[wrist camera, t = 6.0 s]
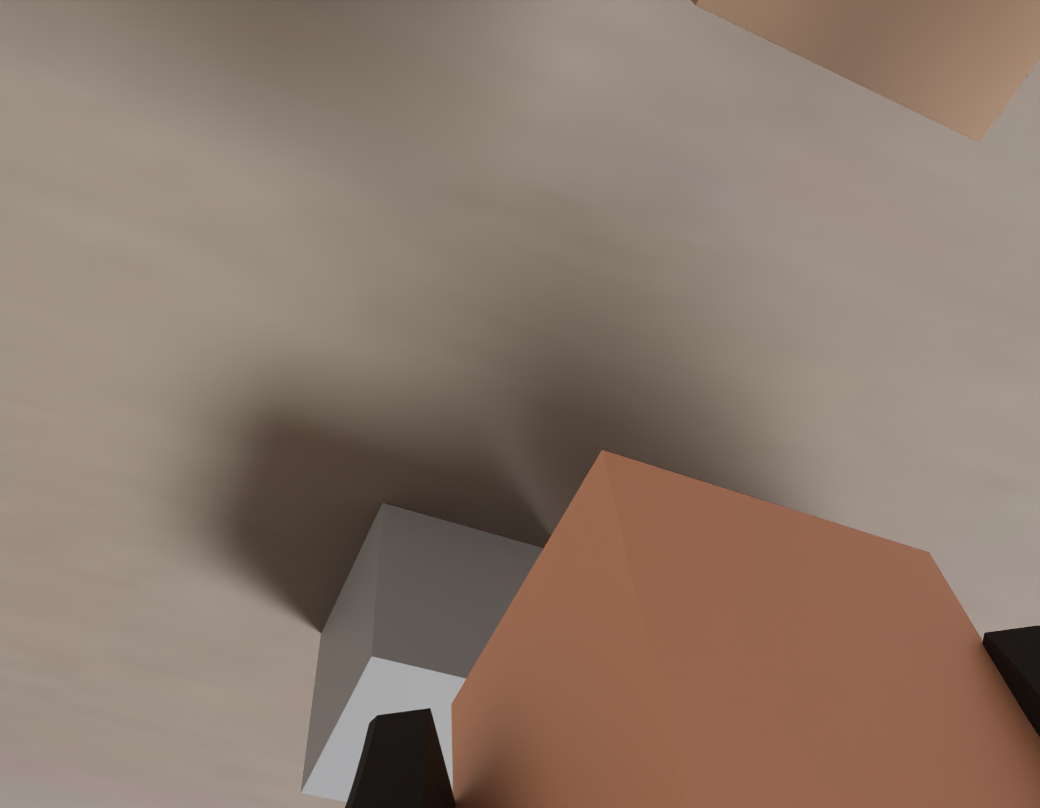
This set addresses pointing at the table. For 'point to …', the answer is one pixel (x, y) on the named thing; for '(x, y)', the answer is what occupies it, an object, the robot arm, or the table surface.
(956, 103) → the wooden cube
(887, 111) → the table surface
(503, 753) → the terracotta block
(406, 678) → the light gray block
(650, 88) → the table surface
